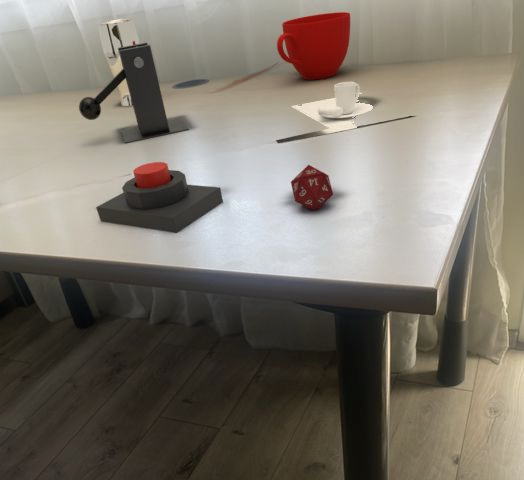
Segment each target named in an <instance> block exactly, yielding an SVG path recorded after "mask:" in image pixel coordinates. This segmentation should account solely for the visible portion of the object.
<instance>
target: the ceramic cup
mask: <svg viewBox="0 0 524 480" xmlns="http://www.w3.org/2000/svg"><path fill="white" fill-rule="evenodd" d="M281 26H282V34H280V35H279V36H278V38H277V41H276V50H277V52H278V54H279V56H280V58H281V59H282V60H283V61H284V62H285V63H288V64H291V65H292V66H293V68H294V69H295V70H296V72H297V73H298V74H299V75H300V76H301V77H302V79H304V80H307V81H308V80H309V81H310V80H311V81H312V80H313V81H314V80H322V79H327V78H331V77H333V76H335V75H337V72H338V71H339V70H340V68H341V67H342V65H343V63H344V61H345V59H346V56H347V54H348V50H349V45H350V36H351V13H350V12H348V11H347V12H346V11H345V12H344V11H339V12H327V13H319V14H313V15H307V16H301V17H296V18H293V19H289V20H286V21H283V22H282V24H281ZM284 45H285V49H286V52H285V50H284ZM286 53H287V54H286Z"/></svg>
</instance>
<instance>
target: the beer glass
mask: <svg viewBox="0 0 524 480" xmlns="http://www.w3.org/2000/svg"><path fill="white" fill-rule="evenodd" d="M96 25H97V29H98V34H99V40H100V44H101V48H102V51H103V55H104V58H105V61H106V63H107V66H108V69H109V71H110V72H111V75H112V77H113V78H114V77H115V76H116V75H117V74H118V73H119V72H120V71H121V70H122V69H123V66H122V62H121V58H120V55H119V51H118V48H120V47H125V46H130V45H136V44H141V43H140V39H139V34H138V32H137V28H136V26H135V25H136V24H135V22H134V18H133V17H126V18H118V19H113V20H108V21H103V22H100V23H99V22H98V23H97V24H96ZM116 88H117V89H118V93H119V97H120V105H121V106H122V107H132V106H133V104H132V101H131V97H130V93H129V89H128V85H127V81H126V78H125V79H124V80H123V81H122V82H121V83H120V84H119V85H118V86H117V87H116Z"/></svg>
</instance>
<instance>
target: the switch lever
mask: <svg viewBox="0 0 524 480" xmlns="http://www.w3.org/2000/svg"><path fill="white" fill-rule="evenodd" d="M136 47H138V46H136ZM125 78H126V74H125V70H124V68H123V69H122V70H121V71H120V72H119V73H118V74H117V75H116V76H115V77H113V78H112V79H111V80H110V81H109V82H108V83H107V84H106V86H104V88H103V89H102V90H101V91H100V92H99V93H97V95H96V96H95V97H93V96H86V97H83V98H82V99H81V100H80V101H79V104H78V111H79V113H80V115H81V116H82V117H83V118H84V119H86V120H89V121H94V120H97V119H99V117H100V116H101V114H102V107H101V104H102V103H103V102H104V101H105V100H106V99H107V98H108V97H109V96H110V95H111V94H112V93H113V92H114V91H115V89H117V88H118V87H117V86H118V85H119V84H120V83H121V82H122V81H123V80H124V79H125Z"/></svg>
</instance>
